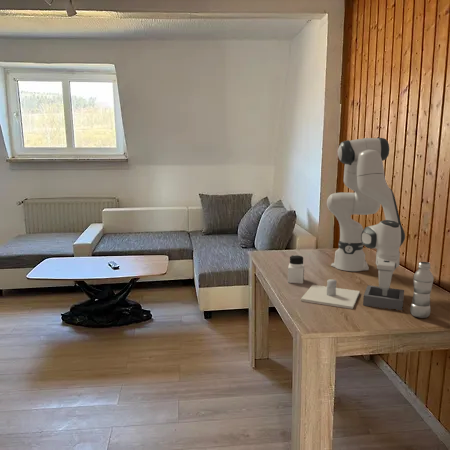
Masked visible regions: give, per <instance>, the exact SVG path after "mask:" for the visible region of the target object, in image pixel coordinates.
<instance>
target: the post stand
mask: <svg viewBox="0 0 450 450" xmlns="http://www.w3.org/2000/svg"><path fill="white" fill-rule="evenodd" d="M326 283H327V284H326V286H325V285H320V284H319V285H318V284H311V286H310V287H309V288H308V290H307V291H306V292H305V293H304V294H303V296H302V297H301V298H300V302H305V303H309V304H310V303H311V304H317V305H324V306H332V307H336V308H337V307H338V308H341V309H342V308H343V309H350V310H353V309H354V307H355V305H356V302H357V300H358V298H359V296H360V291H361V290H356V289H355V290H354V289H347V288H340V287H337V280H336V279H327V281H326Z"/></svg>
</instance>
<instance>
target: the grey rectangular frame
mask: <svg viewBox="0 0 450 450" xmlns="http://www.w3.org/2000/svg"><path fill="white" fill-rule="evenodd" d="M404 297H405V290H404V289H399V288H391V287H390V288H389V290H387V296H383V295H382V289H380V288H379V285H378V286H377V285H367V286H366V289H365V292H364V294H363V298H362V306H366V307H371V306H372V307H374V308H378V307H379V308H380V309H385V308H388V309H387V310H391V309H397V310H396V311H398V310H402V311H403V308H402V307H403V305H404Z"/></svg>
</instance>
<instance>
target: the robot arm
mask: <svg viewBox="0 0 450 450" xmlns="http://www.w3.org/2000/svg"><path fill="white" fill-rule="evenodd" d="M338 145H339V146H338V148H337V158H338V160H339V162H340V163H342V164H343V165H344V168H343V169H344V170H343V180H342V181H343V184H344V185H345V187H347V188H348V189H350V190H351V191H353V192H344V191H343V192H342V191H341V192H334V193H331V194H330V195H329V196H328V197H327V199H326V207H327V209H328V211H329V212H330V213H331V214H332V215H333V216H335V218H336V220H337V221H338V224H339V225H338V226H339V240H338V249H336V250H335V252H334V253H335V254H334V262H331V264H330V266H331V267H333V268H335V269H337V270H341V271H345V272H346V271H347V272H362V271H369V270H370V269H369V268H370V267H369V265H368V262H367V259H366V253H365V252H364V247H365V248H366V249H370V250H371V249H373V250H375V249H376V252H375V265H376V269H377V270H378V287H379V288H380V289H382V295H383V296H387V290H389V288H391V287H390V286H391V283H392V278H393V275H394V272H395V271H396V269H397V268H398V267H400V258H401V257H400V256H401V254H400V247H401V246H402V245H403V244H404V242H405V239H406V233H405V230H404V228H403V226H402V222H401V219H400V214H399V210H398V204H397V200H396V198H395V193H394V192H393V190H392V188H390V187H389V185H388V184H387V180H386V177H385V168H384V161H385V160H387V158H388V157H389V154H390V143H389V141H388V140H387V139H386V138H384V137H376V138H375V137H363V138H357V139H352V140H350V139H348V140H347V139H346V140H344V141H341V142H340V144H338ZM381 207H382V209H383V214H384V219H383V220H381V221H379V223H376V224H374V225H368V226H366V227H363V225H362V223H360V222H358V221H357V220H355V219H353V218H352V216H353V215H358V216H359V215H361V216H364V215H365V216H367V215H368V216H369V215H374V214H377V212H378V211H379V210H380V208H381Z"/></svg>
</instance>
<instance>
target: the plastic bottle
mask: <svg viewBox="0 0 450 450" xmlns="http://www.w3.org/2000/svg"><path fill="white" fill-rule="evenodd" d="M417 267H418V269H417V270H416V271H415V273H414V275H413V296H412V300H411V301H412V302H411V304H410V308H409V309H410V314H411V315H412V316H413V317H415V318H420V319H426V318H428V317H430V315H431V293H432V287H433V283H434V278H435V277H434V275H433V273H432V271H431V263H430V262H428V261H419V262H418V266H417Z"/></svg>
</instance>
